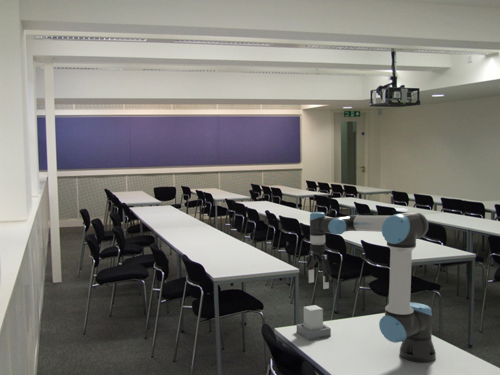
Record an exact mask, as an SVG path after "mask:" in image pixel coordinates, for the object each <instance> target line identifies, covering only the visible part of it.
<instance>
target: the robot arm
mask: <svg viewBox="0 0 500 375" xmlns="http://www.w3.org/2000/svg"><path fill="white" fill-rule="evenodd" d="M428 230H429V221H428V218H426V217H425V215H424V214H422V213H421V212H417V211H410V212H401V213H394V214H393V215H357V214H350V215H346V216H336V217H326V214H325V212H322V211H314V212H310V214H309V243H310V246H309V247H310V248H309V249H310V250H309V251H308V257H307V260H306V263H305V268H307V270H308V284H311V283H315V269H314V267H315V265H316V263H318V264H319V266H320V268H321V271H322V273H323V275H322V282H323V283H322V284H323V285H322V286H323V290H325V289H330V276H331V275H332V273H333V272H332V268H331V266H330V261H329V256H328V254H325V253H324V252H325V251H326V247H327V246H326V245H327V244H326V234H331V235H343V233H346V232H379V233H380V232H381V234H382V237H383V238H384V240H385V242H386V247H388V248H389V250H390V252H389V253H390V255H389V256H390V257H389V285H388V286H389V288H388V289H389V290H388V292H389V294H388V295H389V296H388V304H387V305H386V306H385V307H384V315H383V316H382V317H381V318H380V320H379V323H378V326H379V330H380V332H381V335H383V337H384V338H385V339H386V340H387V341H389V342H390V343H391V342H392V343H396V344H397V343H401V344H400V347H399V356H401V358H403V359H405V360H407V361H410V362H415V363H430V362H433V361H434V360H436V358H437V356H436V355H437V353H436V349H435V345H434V344H433V343H434V342H433V340H432V330H433V329H432V328H433V327H432V320H433V319H432V317H433V314H432V308H431V307H430V306H429V305H427V304H423V303H418V302H411V291H412V288H411V286H412V260H413V259H412V258H413V257H412V255H413V250H414V249H415V248H416V247H417V246H416V245H417V240H418V239H421V238H422V237H425V235H426V234H427V232H428Z"/></svg>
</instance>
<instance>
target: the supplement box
mask: <svg viewBox="0 0 500 375" xmlns="http://www.w3.org/2000/svg"><path fill="white" fill-rule="evenodd" d="M303 323H304V328H305V329H307V330H308V331H314V330H319V329H323V324H324V308H323V307H320V306H318V305H316V304H314V305H313V304H312V305H307V306H303Z"/></svg>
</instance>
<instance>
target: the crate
mask: <svg viewBox="0 0 500 375" xmlns="http://www.w3.org/2000/svg"><path fill="white" fill-rule="evenodd" d="M331 331H332V329H331V327H329V326H328V325H325V324H324V323H323V329H319V330H314V331H308V330H307V329H305V328H304V322H302V323H297V324H296V333H297V334H298V335H300V336H302V337H303V338H304V339H306V340H308V341H314V340H318V339H324V338H330V337H331V334H332V332H331Z"/></svg>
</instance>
